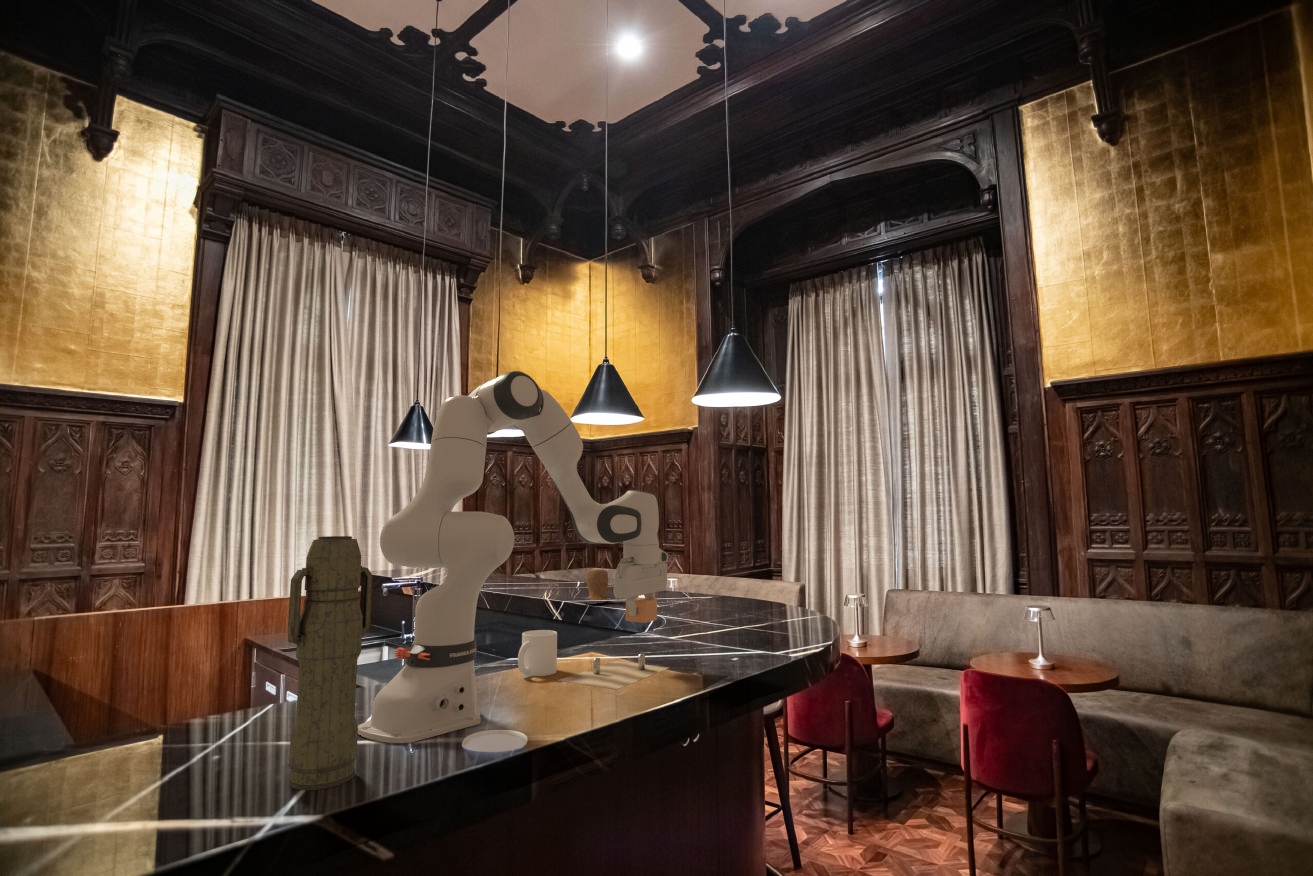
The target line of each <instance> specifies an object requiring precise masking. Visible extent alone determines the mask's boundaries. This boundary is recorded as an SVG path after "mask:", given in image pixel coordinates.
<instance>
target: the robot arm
mask: <svg viewBox="0 0 1313 876" xmlns="http://www.w3.org/2000/svg"><path fill="white" fill-rule="evenodd" d="M512 426H514V427H516V428H518V429H519V430H520V431H521V432H522V433H523V435H524V437H525V438H526V440H527V442H528V443H529V445H530V446H531V448H532V449H533V451H534V453H535V454H536V456H537V457H538V459H539V460H540V462H541V463H542V465H543V466H544V468H545V469H546V472H547V473H548V475H549V477H550V479H551V481H552V482H553V484H554V486H555V488H556V490H557V492H558V493H559V495H560V497H561V498H562V500H563V502H564V504H565V505H566V508H567V509H568V511H569V515H570V518H571V523H572V528H573V532H574V533H575V535H576V536H577V538H578V539H579V540H580V541H582V542H583V543H584V544H585V543H586V544H591V545H594V544H609V545H610V544H611V545H615V544H618V543H621V542H622V544H623V545H622V546H623V553H622V554H623V555H622V556H623V557H622V558H621V559H620V561H619V563H618V564H617V567H616V568H615V572H614V579H613V580H614V581H613V595H614V597H615V599H625V603H626V602H627V605H628V607H629V615H630V616H635V615H638V608H637V607H636V603H635V601H636V598H637V597H641V596H645V598H652V599H656V593H658V592H662V591H665V590H666V588H667V584H668V565H667V562H668V561H669V554H668V553H667V552H666V551H664V550H662V549H661V548H660V542H659V537H658V531H659V526H660V522H659V521H660V520H659V519H660V518H659V513H660V512H659V506H658V505H659V504H658V501H657V498H656V496H655V495H654V493H652V492H649V491H645V490H639V489H630V490H627V491H626V492H625V493H624V494H622V495H621V496H620V497H618V498H617V499H614V500H612V501H609V502H608V503H599V502H597V501H595V500H594V499H593V498H592V497H591V495H590V493H589V492H588V491H589V490H587V488H586V486H585V484H584V482H583V481H582V479H581V477H580V475H579V473H578V468H577V467H578V462H579V461H580V459H581V457H582V454H583V450H584V443H583V440H582V438H581V435H580V432H579V430H578V429H577V428H576V426H575V424H574V422H573V421H572V420H571V418H570V417H569V415H568V414H567V412H566V411H565V410H564V408H563V407H562V406H561V404H560V403H559V402H558V401H557V399H555V397H553V396H552V394H551V393H549V392H548V391H547V390H544V389H542V388H540V386H539V384H538V383H537V382H536V381H535V379H533V378H532V376H530V375H529V374H527V373H526V372H523V371H520V370H513V371H508V372H505V373H502V374H500V375H499V376H497V377H495V378H492V379H490V380H488V381H485V382H483V383H482V384H480V385H478V386H477V387H476V388H475V389H473V390H471V391H470V392H468V393H467V394H466V395H455V396H454V395H453V396H450V397H448V398H447V399H445V400H444V401H443V402H442V404H441V405H440V407H439V409H438V412H437V415H436V419H435V422H434V426H433V430H432V435H431V441H430V448H429V454H428V459H427V460H428V461H427V466H426V470H425V475H424V478H423V481H422V482H421V486H420V488H419V489H418V491H417V492H416V493H415V494H416V495H414V497H413V498H412V499H411V501H410V502H409V503H408V504H407V505H406V506H405V507H404V508H402V509H401V510H400V511H398V512H397V513H396V514H394V515H392V516H391V517H390V518H388V520H387V521H386V522H385V524H384V526H383V527H382V529H381V532H380V537H379V547H380V550H381V551H380V552H381V553H382V555H383V557H384V558H385V559H386V560H387V562H388V563H390V564H393V565H397V566H402V567H407V568H411V569H412V568H413V569H420V568H421V569H424V568H425V569H430V568H431V569H437V568H438V569H439V568H440V569H442V568H443V569H447V570H446V571H447V572H446V577H445V580H444V581H443V582H442V583H441V584H439V585H437V586H435V587H433V588H431V589H429V590H428V591H426V592H424V593H423V594H422V595H421V596H420V597H419V599H418V601H417V602H416V605H415V611H414V612H415V613H414V615H415V616H414V617H415V619H414V639H413V642H412V643H411V645H410V648H408V647H406V648H404V647H397V648H396V650H395V651H394V657H395V658H396V659H399V660H405V661H404V663H405V664H404V666H403V668H402V669H401V670H399V672H397V674H395V676H394V677H392V679H391V680H390V681H388V683H387V684H386V685H385V686H384V687H383V688H381V690H380V691H378V692H377V694H376V696H375V698H374V700H373V705H372V711H371V715H370V720H368V721H365V722H363V723H360V724H357V725H358V736H360V735H361V737H363V738H366V739H369V740H372V741H377V742H381V743H382V742H384V743H393V744H409V743H414V742H417V741H421V740H426V739H429V738H433V737H436V736H440V735H444V734H447V733H451V732H454V731H458V730H462V729H465V728H470V727H473V726H477V725H480V724H481V723H482V719H481V714H482V713H481V708H480V705H479V699H478V688H477V678H476V672H475V659H476V658H477V648H478V647H477V640H476V638H475V627H476V626H475V624H476V613H477V605H478V600H479V599H478V598H479V596H480V592H481V589H482V588H483V585H484V584H485V582H486V580H487V579H488V578H489V576H490V575H491V574H492V573H493V572H494V571H495V570H496V569H498V568H499V567H500V566H501V565H503V564H504V563H505V562H506V561H507V560H508V558H509V557H510V556H511V554H512V552H513V550H514V549H513V548H514V545H515V532H514V529H513V526H512V524H511V523H510V521H509V519H507V517H506V516H504V515H501V514H496V513H491V512H486V511H453V509H454V508H455V506H456V505H457V504H458V503H459V502H460V501H461V500H462V499H464V498H467V497H469V496H471V495H473V494H474V493H476V491H478V490H479V488H480V487H481V485H482V484H483V482H484V472H485V463H486V453H487V443H488V442H487V440H488V435H492V434H494V433H497V432H498V431H501V430H504V429H509V428H510V427H512Z"/></svg>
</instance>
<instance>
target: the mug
mask: <svg viewBox="0 0 1313 876" xmlns="http://www.w3.org/2000/svg"><path fill="white" fill-rule="evenodd" d="M557 656H558V632H557V631H555V630H549V629H547V630H546V629H537V630H527V631H524V632H522V634H521V646H520V647H519V650H518V655H517V666H518V670H519V672H520V673H521V677H522V679H526V678H530V677H541V676H542V677H544V676H551V675H554V674H556V673H557V672H558V671H557V670H558V669H557V666H558V665H557V663H558V662H557V661H558V659H557V658H558V657H557Z"/></svg>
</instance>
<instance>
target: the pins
mask: <svg viewBox="0 0 1313 876" xmlns="http://www.w3.org/2000/svg"><path fill="white" fill-rule="evenodd" d="M637 654H638V657H637V658H638V660H637V664H638V670H645V665H646V654H645V653H637ZM592 662H593V663H592V669H593V674H600V666H601V657H593V661H592Z"/></svg>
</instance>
